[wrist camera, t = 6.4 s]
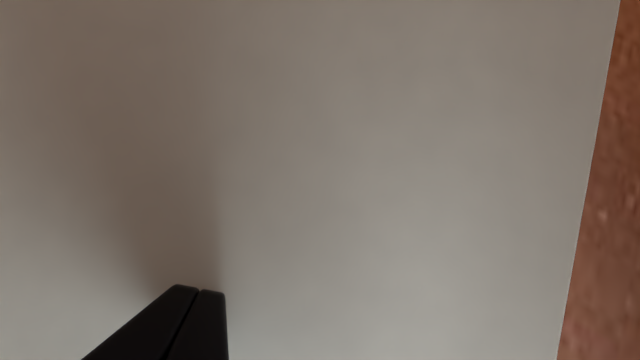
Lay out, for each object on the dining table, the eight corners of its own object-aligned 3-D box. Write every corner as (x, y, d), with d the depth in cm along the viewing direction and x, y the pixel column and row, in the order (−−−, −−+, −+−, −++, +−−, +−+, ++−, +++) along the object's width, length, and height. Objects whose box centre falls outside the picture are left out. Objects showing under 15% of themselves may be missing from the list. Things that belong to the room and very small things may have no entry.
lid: (-36, -117, 10) (-67, -144, 9) (601, 1, 10) (625, -16, 9) (-180, 594, 10) (-226, 630, 9) (470, 723, 9) (484, 773, 9)
